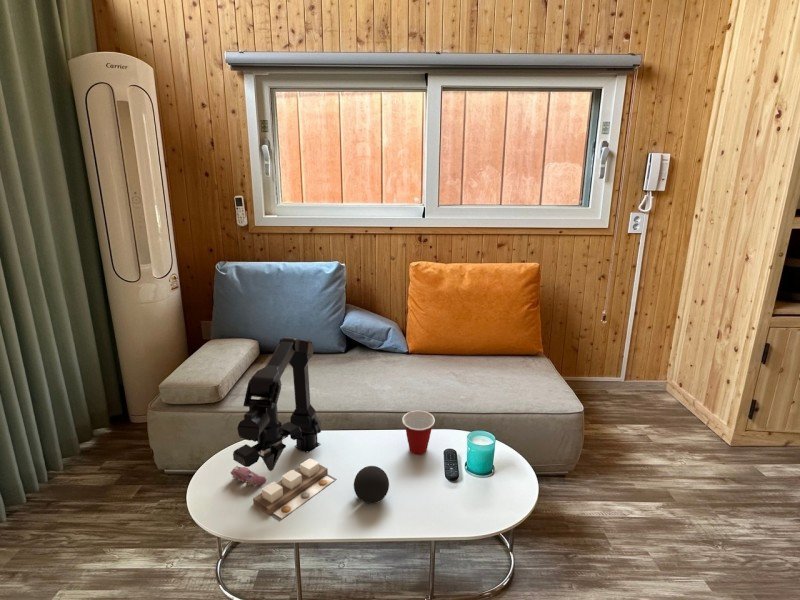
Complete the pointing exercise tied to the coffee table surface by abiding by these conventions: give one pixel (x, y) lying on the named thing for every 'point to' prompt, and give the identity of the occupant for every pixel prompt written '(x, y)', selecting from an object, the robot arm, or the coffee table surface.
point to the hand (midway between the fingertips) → (270, 470)
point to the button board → (295, 494)
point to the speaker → (371, 484)
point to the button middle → (291, 479)
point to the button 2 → (309, 467)
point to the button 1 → (272, 492)
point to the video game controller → (247, 476)
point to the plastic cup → (418, 430)
